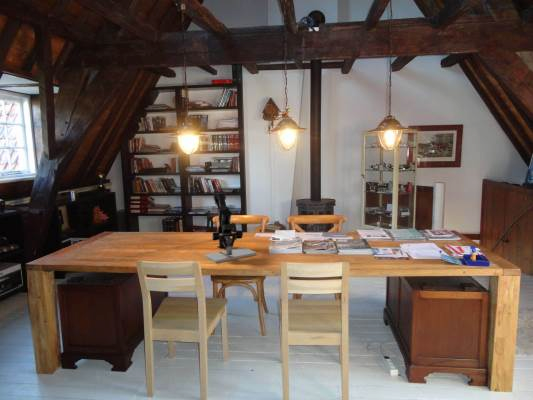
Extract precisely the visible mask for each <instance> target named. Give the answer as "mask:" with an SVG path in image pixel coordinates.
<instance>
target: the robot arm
mask: <svg viewBox="0 0 533 400" xmlns="http://www.w3.org/2000/svg"><path fill="white" fill-rule="evenodd" d="M212 199H213V201H214V204H215V205H216V206H217V214H218V215H217V217H218V224H219V225H218V227H217V230H216V232H213V233H212V234H211V235H212V241H214V242H215V241H218V245H219V246H217V248H219V249H221V250H223V249H226V240H225V239H226V238H232V248H234V244H235V241H237V240H238V239H243V236H244V235H243V234H244V231H243V230H241V229H239V230H235V232H233V229H235V228H236V225H235V222H232V223H231V219H232V215H233V213H232V211H231V210H230V208H229V206H227V203H226V200H227V193H224V192H218V193H214V194H213V198H212Z"/></svg>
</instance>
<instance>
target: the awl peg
mask: <svg viewBox="0 0 533 400" xmlns="http://www.w3.org/2000/svg"><path fill="white" fill-rule="evenodd" d="M225 240H226V248H225V251H226V255H232V249H233V247H232V237H230V238H226V239H225Z"/></svg>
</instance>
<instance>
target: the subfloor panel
mask: <svg viewBox="0 0 533 400" xmlns="http://www.w3.org/2000/svg"><path fill="white" fill-rule="evenodd" d="M257 253H258V252H257V251H254V250H251V249H250V248H247V247H245V246H244V247H238V248H232V255H226V250H223V251H217V252H211V253H206V254H204V255H203V256H204V258H206V259H208V260H210V261H211V262H213V263H215V264H217V263H222V262H227V261H231V260H237V259H241V258H246V257H251V256H255V255H257Z"/></svg>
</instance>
